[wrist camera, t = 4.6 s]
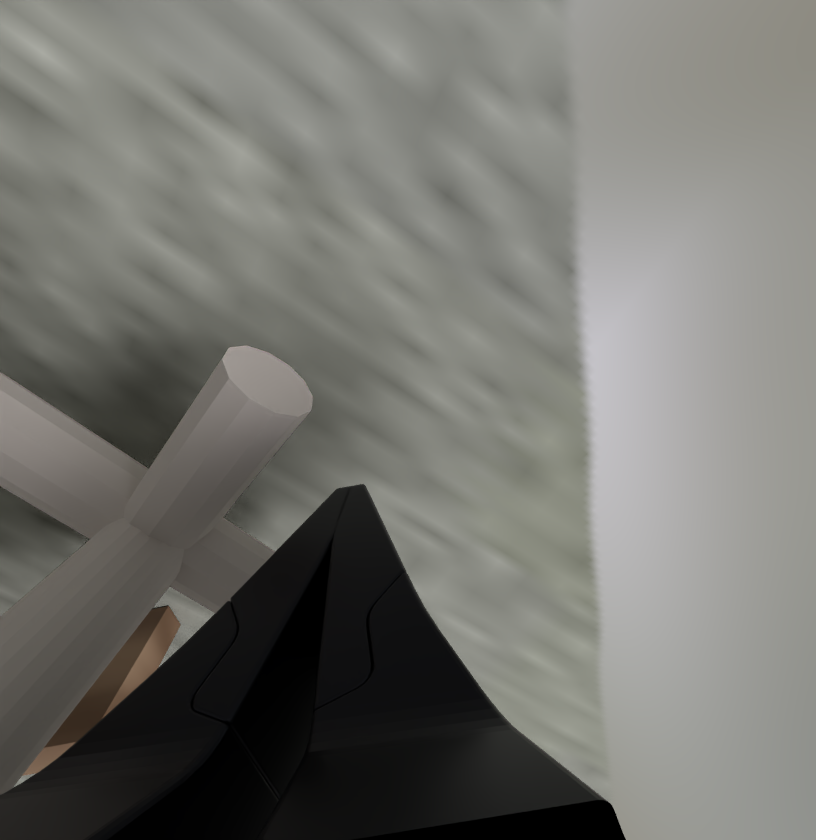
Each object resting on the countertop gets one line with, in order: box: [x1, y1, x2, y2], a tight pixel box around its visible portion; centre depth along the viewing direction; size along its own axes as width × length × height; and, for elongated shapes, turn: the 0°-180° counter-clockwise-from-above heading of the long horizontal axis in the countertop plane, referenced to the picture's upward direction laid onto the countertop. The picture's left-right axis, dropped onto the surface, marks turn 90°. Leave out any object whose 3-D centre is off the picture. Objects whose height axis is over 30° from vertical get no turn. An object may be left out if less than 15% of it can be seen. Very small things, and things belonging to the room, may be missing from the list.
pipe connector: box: [0, 345, 313, 795], centre depth 9 cm, size 10×10×10 cm
